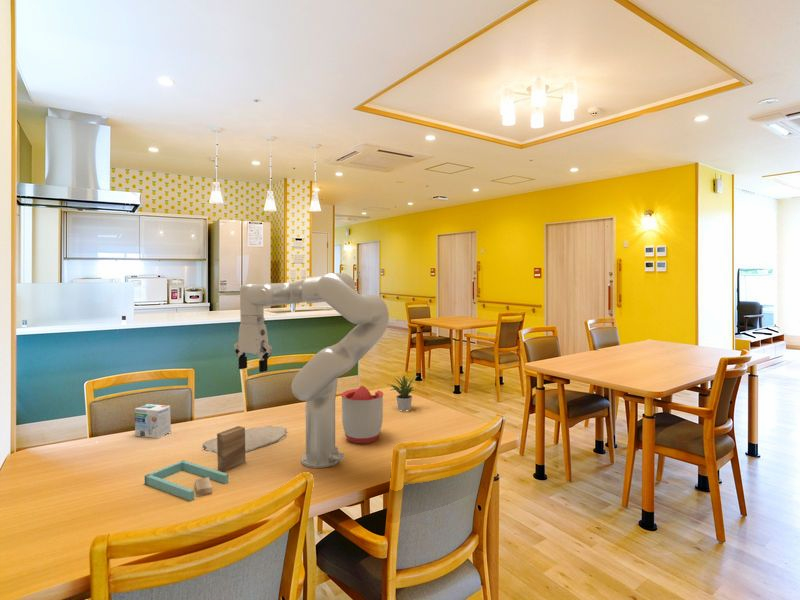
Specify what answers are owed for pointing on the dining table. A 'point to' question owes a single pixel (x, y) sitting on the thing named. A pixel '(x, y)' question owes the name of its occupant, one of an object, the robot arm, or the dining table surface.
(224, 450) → the tall oak sheet
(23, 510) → the dining table surface
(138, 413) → the light bulb box
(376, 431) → the citrus juicer
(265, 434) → the stone tablet
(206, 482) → the offcut slab upper
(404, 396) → the house plant
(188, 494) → the open frame
